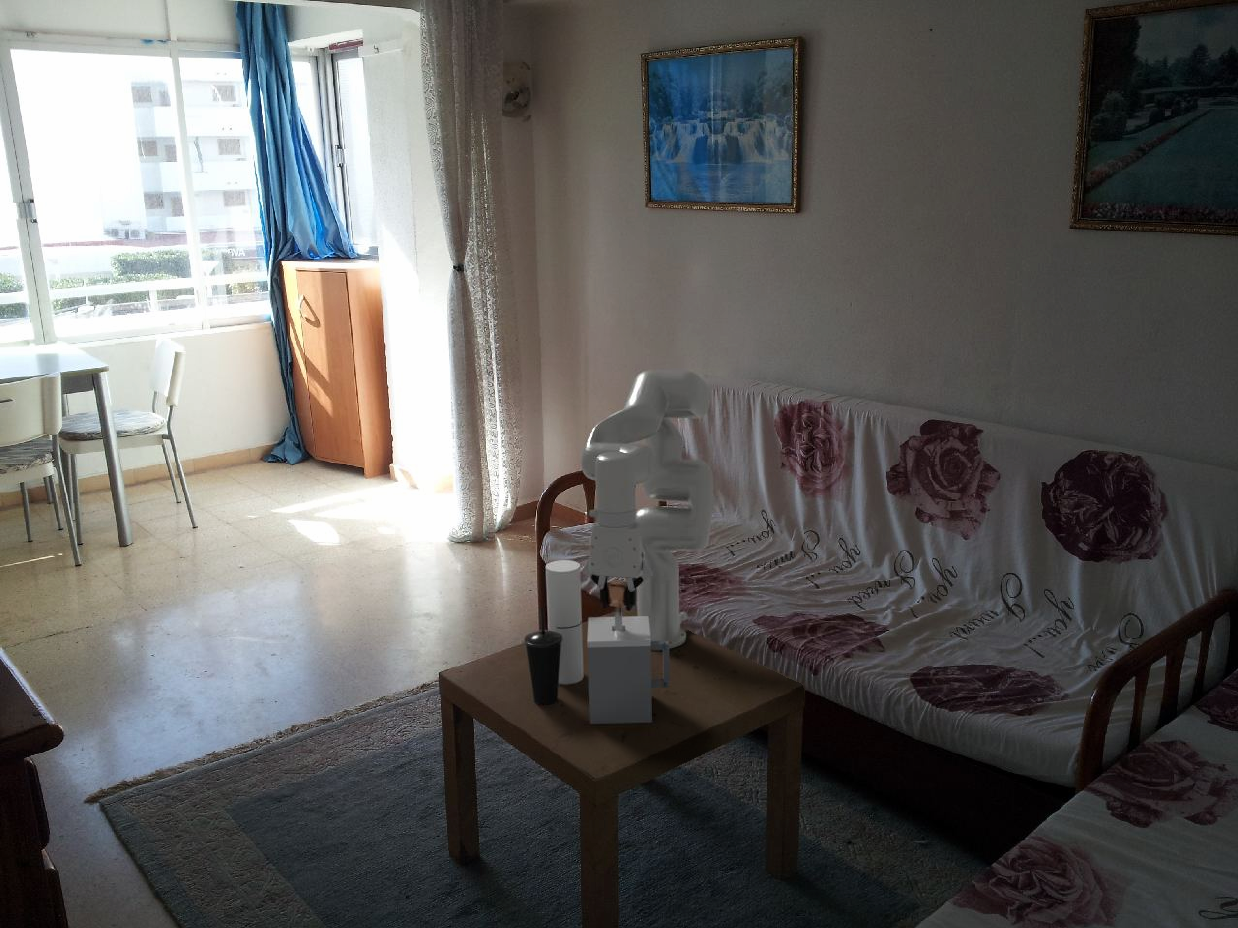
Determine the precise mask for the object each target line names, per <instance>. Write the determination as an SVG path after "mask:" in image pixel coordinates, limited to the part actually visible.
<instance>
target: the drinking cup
mask: <svg viewBox="0 0 1238 928" xmlns="http://www.w3.org/2000/svg"><path fill="white" fill-rule="evenodd" d="M539 611H540V630H536V631H533V632H530V633H528V634H526V635H525V637H524V638H523V641H524V644H525V646H526V654H527V660H528V662H527V663H528V668H529V676H530V683H531V689H532V695H533V697H532V698H533V701H534V704H536V705H538V706H543V707H544V706H545V707H546V706H551V705H554V704H556V703H557V702H558V699H559V685H560V684H559V668H560V651H561V642H562V635H561V634H559V633H557V632H554V631H550V630H548V629H546V628H545V626H546V625H545V608H544V607H540V610H539Z"/></svg>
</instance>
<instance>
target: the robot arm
mask: <svg viewBox="0 0 1238 928" xmlns="http://www.w3.org/2000/svg"><path fill="white" fill-rule="evenodd" d="M710 405H711V393H710V389H709V387H708V384H707V382H706V381H705V380H703V379H702V378H701V377H700V376H699V375H698V374H697V373H695V372H692V371H689V370H682V369H681V370H679V369H678V370H675V369H673V370H672V369H649V370H645V371H642V372H641V373H639V374H637V375H636V377H635V378H634V380H633V383H632V385H631V387H630V390H629V393H628V395H627V398H626V400H625V403H624V405H623V408H622V409H620V410H619V411H616V412H614V413H612V414H611V415H609V416H607V417H606V418H605V419H602V420H601V421H600V422H598V423H597V424H596V425H594V427H593V429H592V430H591V431H590V433H589V436H588V437H587V440H586V443H585V445H584V447H583V451H582V455H581V461H580V462H581V463H580V464H581V470H582V472H583V474H584V476H585V477H586V478H587V479H590V480H592V481H594V482H595V507H596V508H594V509H590V510H589V511H588V516H589V517H590V518H594V519H595V522H594V523H592V526H591V531H590V539H589V554H588V560H587V562H586V564H585V565H584V566H583V568H582V570H581V573H583V574H584V575H585V576H587V577H588V578H590V579H591V580H592V582H593V583H594V584H595V585H597V588H598V589H599V599H600V600H599V602H600V603H601V604H602V609H603V610H606V609H608V608H609V606H610V605H608V590H607V583H608V582H609V581H608V580H609V578H623V579H625V581H626V582H627V585H628V590H627V591H626V606H625V610H626V611H628V612H629V611H631V610H632V609H633V607H634V606H637V607H636V608H637V616H648V618H649V629H650V640H651V641H669V650H670V649H675V648H677V647H679V646H681V645H683V644H684V643H685V641H686V640H687V633H686V631H685V630H683V629H682V628H681V623H683V621H685V620H687V619H688V614H687V612H685V611H681V612H680V597H679V595H680V594H679V592H680V591H679V590H680V588H679V587H680V586H679V583H680V580H679V577H680V575H679V574H680V572H679V571H680V570H679V564H678V562H677V559H676V558H675V556H674V555H673V553H672V552H671V551H684V552H701V551H703V550H705V549H706V548H707V546H708V544H709V541H710V534H711V527H712V526H711V524H712V509H713V496H714V494H713V493H714V492H713V491H714V478H713V477H714V476H713V471H712V469H711V467H710V465H709V464H708V463H707V462H705V461H704V460H703V461H702V460H695V459H683V457H682V455H683V445H684V444H683V443H684V442H683V440H684V439H683V436H682V434H681V432H680V430H679V429H678V428H677V426H676V425H675V424H674V423H673V421H672V420H671V419H670V418H672V419H673V418H674V419H701V418H703V417H705V416H706V415H707V413H708V412H709V409H710V407H711V406H710ZM642 440H643V441H644V444H640V443H635V442H639V441H642ZM639 484H642V487H641V488H642V493H643V494H644V496H645V497H646V498H647V499H649V500H653V501H660V502H661V501H662V502H675V503H676V502H677V503H678V502H679V503H688V504H690V507H676V506H675V507H674V506H659V505H657V506H656V505H655V506H653V505H652V506H651V505H650V506H644V507H641V508H639V509H638V510H637V507H636V504H637V503H636V501H637V500H636V497H637V496H636V485H639Z"/></svg>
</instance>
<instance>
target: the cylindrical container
mask: <svg viewBox="0 0 1238 928" xmlns="http://www.w3.org/2000/svg"><path fill="white" fill-rule="evenodd" d="M545 585H546V587H545V588H546V607H547V608H546V609H547V630H550V631H554V632H557V633H559V634H561V635H562V642H561V651H560V668H559V685H572V684H577V683H579V682H581V681H582V680H583V679H584V677H585V676H584V674H585V673H584V651H583V650H584V649H583V645H584V644H583V619H582V618H583V617H582V615H583V614H582V612H583V611H582V590H581V589H582V585H581V564H580V563H579V562H577V561H575V560H571V559H570V560H568V559H567V560H565V559H562V560H554V561H551V562H549V563H547V564H546V565H545Z"/></svg>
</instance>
